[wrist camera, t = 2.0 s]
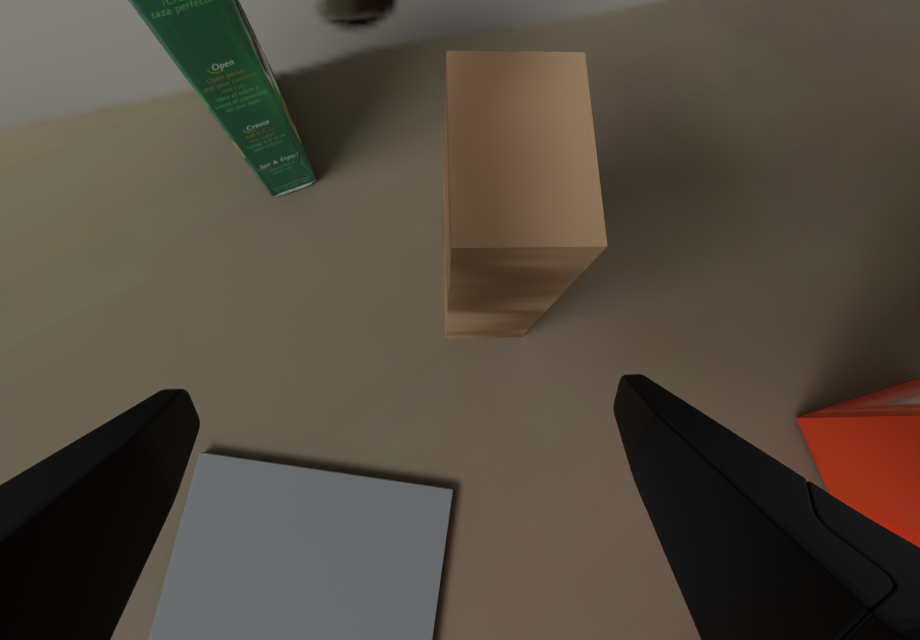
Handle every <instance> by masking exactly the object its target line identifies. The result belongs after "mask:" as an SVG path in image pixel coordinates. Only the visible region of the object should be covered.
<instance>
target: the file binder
mask: <svg viewBox="0 0 920 640" xmlns="http://www.w3.org/2000/svg"><path fill="white" fill-rule="evenodd" d="M796 420H797V422H798V425H799V427H800V429H801V432H802V434H803V436H804V438H805V441H806V443H807V445H808V448H809V450H810V452H811V454H812V457H813V459H814V461H815V464H816V466H817V468H818V470H819V473H820V475H821V477H822V480H823V482H824V484H825V486H826V489H827V491H828V493H829V494H830V495H832V496H834V497H835V498H837V499H838V500H840V501H842V502H843V503H845V504H847V505H848V506H850V507H851V508H853V509H855V510H856V511H858V512H859V513H861V514H863V515H864V516H866V517H868V518H869V519H871V520H873V521H874V522H876V523H878V524H880V525H881V526H883V527H885V528H886V529H888V530H890V531H892V532H893V533H895V534H897V535H898V536H900V537H902V538H904V539H905V540H907V541H909V542H911V543H912V544H914V545H916V546H918V547H919V548H920V379H915V380H912V381H909V382H906V383H903V384H899V385H896V386H893V387H890V388H887V389H884V390H880V391H877V392H874V393H871V394H868V395H865V396H861V397H858V398H855V399H852V400H849V401H846V402H842V403H839V404H836V405H833V406H830V407H826V408H823V409H820V410H817V411H814V412H811V413H807V414H804V415H801V417H798V418H796Z"/></svg>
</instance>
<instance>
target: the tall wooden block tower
mask: <svg viewBox="0 0 920 640" xmlns="http://www.w3.org/2000/svg"><path fill="white" fill-rule="evenodd" d="M606 247H607V238H606V229H605V221H604V212H603V203H602V195H601V186H600V178H599V169H598V161H597V152H596V144H595V135H594V126H593V118H592V109H591V101H590V92H589V84H588V75H587V66H586V58H585V52H525V51H446V89H445V142H444V195H443V260H444V302H445V339H449V338H494V337H522V336H523V335H524V334H525V333H526V332H527V331H528V330H529V329H530V328H531V327H532V326H533V324H534V323H535V322H536V321H537V320H538V319H539V318H540V317H541V316H542V315H543V314H544V313H545V312H546V311H547V310H548V309H549V308H550V307H551V305H552V304H553V303H554V302H555V301H556V300H557V299H558V298H559V297H560V296H561V295H562V294H563V293H564V292H565V291H566V290H567V289H568V288H569V287H570V285H571V284H572V283H573V282H574V281H575V280H576V279H577V278H578V277H579V276H580V275H581V274H582V273H583V272H584V271H585V270H586V269H587V268H588V266H589V265H590V264H591V263H592V262H593V261H594V260H595V259H596V258H597V257H598V256H599V255H600V254H601V253H602V252H603V251H604V250H605V249H606Z"/></svg>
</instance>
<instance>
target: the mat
mask: <svg viewBox="0 0 920 640" xmlns="http://www.w3.org/2000/svg"><path fill="white" fill-rule="evenodd" d="M452 493H453V489H452V488H445V487H438V486H431V485H424V484H418V483H411V482H404V481H397V480H390V479H384V478H377V477H370V476H363V475H356V474H349V473H343V472H336V471H329V470H322V469H315V468H308V467H302V466H295V465H288V464H281V463H274V462H268V461H261V460H254V459H247V458H240V457H233V456H227V455H220V454H213V453H206V452H201V453H199V456H198V459H197V463H196V466H195V470H194V474H193V477H192V481H191V485H190V488H189V492H188V496H187V499H186V503H185V507H184V510H183V514H182V517H181V521H180V525H179V528H178V532H177V536H176V539H175V543H174V547H173V550H172V554H171V558H170V561H169V565H168V569H167V572H166V576H165V579H164V583H163V587H162V590H161V594H160V598H159V601H158V605H157V609H156V612H155V616H154V620H153V623H152V627H151V631H150V634H149V638H148V640H432V637H433V630H434V623H435V615H436V608H437V601H438V594H439V587H440V579H441V572H442V565H443V558H444V551H445V543H446V536H447V529H448V522H449V515H450V507H451V500H452Z"/></svg>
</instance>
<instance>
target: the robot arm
mask: <svg viewBox="0 0 920 640" xmlns="http://www.w3.org/2000/svg"><path fill="white" fill-rule="evenodd" d="M614 415H615V418H616V422H617V425H618V428H619V432H620V435H621V439H622V442H623V445H624V449H625V452H626V455H627V459H628V462H629V466H630V469H631V472H632V475H633V478H634V481H635V483H636V486H637V488H638V491H639V493H640V496H641V498H642V500H643V503H644V505H645V507H646V510H647V512H648V514H649V517H650V519H651V522H652V524H653V526H654V529H655V531H656V533H657V536H658V538H659V540H660V543H661V545H662V548H663V550H664V552H665V555H666V557H667V559H668V562H669V564H670V567H671V569H672V571H673V574H674V576H675V578H676V581H677V583H678V585H679V588H680V590H681V593H682V595H683V597H684V600H685V602H686V604H687V607H688V609H689V611H690V614H691V616H692V619H693V621H694V623H695V626H696V628H697V630H698V633H699V635H700V637H701V640H920V548H919V547H918V546H916V545H914V544H912V543H911V542H909V541H907V540H905V539H904V538H902V537H900V536H898V535H897V534H895V533H893V532H892V531H890V530H888V529H886V528H885V527H883V526H881V525H880V524H878V523H876V522H874V521H873V520H871V519H869V518H868V517H866V516H864V515H863V514H861V513H859V512H858V511H856V510H855V509H853V508H851V507H850V506H848V505H847V504H845V503H843V502H842V501H840V500H838V499H837V498H835V497H834V496H832V495H830V494H829V493H827V492H826V491H824V490H823V489H821V488H819V487H818V486H816V485H815V484H813V483H812V482H809V481H808V482H806V479H805V478H804V477H802V476H801V475H799V474H797V473H796V472H794V471H793V470H791V469H790V468H788V467H786V466H785V465H783V464H782V463H780V462H779V461H777V460H775V459H774V458H772V457H771V456H769V455H768V454H766V453H765V452H763V451H761V450H760V449H758V448H757V447H755V446H754V445H752V444H750V443H749V442H747V441H746V440H744V439H743V438H741V437H739V436H738V435H736V434H735V433H733V432H732V431H730V430H729V429H727V428H725V427H724V426H722V425H721V424H719V423H718V422H716V421H714V420H713V419H711V418H710V417H708V416H707V415H705V414H703V413H702V412H700V411H699V410H697V409H696V408H694V407H693V406H691V405H689V404H688V403H686V402H685V401H683V400H682V399H680V398H678V397H677V396H675V395H674V394H672V393H671V392H669V391H667V390H666V389H664V388H663V387H661V386H660V385H658V384H657V383H655V382H653V381H652V380H650V379H649V378H647V377H646V376H644V375H641V374H631V375H624V376H622V377H621V379H620V382H619V385H618V389H617V393H616V397H615V401H614ZM199 427H200V421H199V417H198V414H197V412H196V409H195V407H194V405H193V402H192V400H191V397H190V395H189V393H188V392H187V391H186V390H184V389H165V390H161V391H159V392H157V393H156V394H154V395H152V396H151V397H149V398H147V399H146V400H144V401H142V402H140V403H139V404H137V405H135V406H134V407H132V408H130V409H129V410H127V411H125V412H124V413H122V414H120V415H118V416H117V417H115V418H113V419H112V420H110V421H108V422H107V423H105V424H103V425H102V426H100V427H98V428H96V429H95V430H93V431H91V432H90V433H88V434H86V435H85V436H83V437H81V438H79V439H78V440H76V441H74V442H73V443H71V444H69V445H68V446H66V447H64V448H63V449H61V450H59V451H57V452H56V453H54V454H52V455H51V456H49V457H47V458H46V459H44V460H42V461H41V462H39V463H37V464H35V465H34V466H32V467H30V468H29V469H27V470H25V471H24V472H22V473H20V474H19V475H17V476H15V477H13V478H12V479H10V480H8V481H7V482H5V483H3V484H2V485H0V640H110V639H111V637H112V635H113V633H114V630H115V628H116V626H117V624H118V622H119V620H120V618H121V615H122V613H123V611H124V609H125V607H126V605H127V602H128V600H129V598H130V596H131V594H132V592H133V590H134V587H135V585H136V583H137V581H138V579H139V577H140V574H141V572H142V570H143V568H144V566H145V564H146V562H147V559H148V557H149V555H150V553H151V551H152V549H153V546H154V544H155V542H156V540H157V538H158V536H159V534H160V531H161V529H162V527H163V525H164V523H165V521H166V518H167V516H168V514H169V512H170V510H171V507H172V505H173V503H174V501H175V498H176V495H177V493H178V490H179V487H180V485H181V482H182V479H183V476H184V473H185V470H186V467H187V464H188V461H189V458H190V455H191V452H192V449H193V446H194V443H195V440H196V437H197V434H198V431H199Z"/></svg>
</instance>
